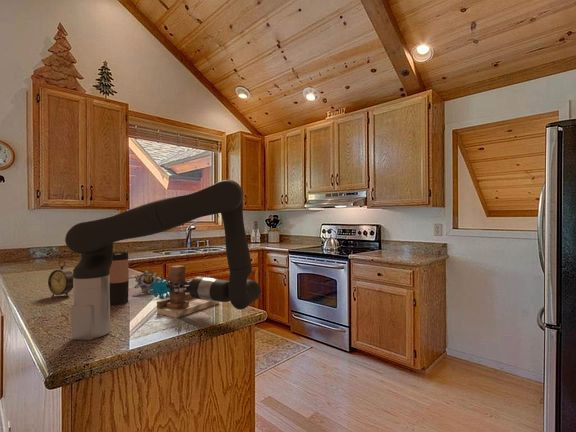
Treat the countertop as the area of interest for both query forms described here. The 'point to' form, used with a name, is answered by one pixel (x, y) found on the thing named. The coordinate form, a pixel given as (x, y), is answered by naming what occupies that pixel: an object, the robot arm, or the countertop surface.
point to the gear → (160, 288)
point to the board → (193, 306)
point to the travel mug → (119, 279)
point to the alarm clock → (61, 281)
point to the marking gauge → (177, 276)
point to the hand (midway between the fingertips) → (172, 283)
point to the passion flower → (146, 281)
